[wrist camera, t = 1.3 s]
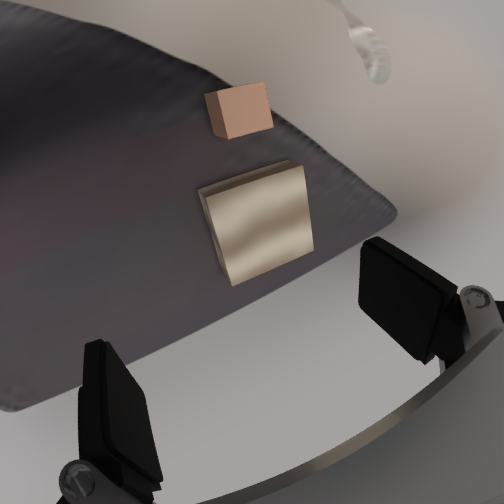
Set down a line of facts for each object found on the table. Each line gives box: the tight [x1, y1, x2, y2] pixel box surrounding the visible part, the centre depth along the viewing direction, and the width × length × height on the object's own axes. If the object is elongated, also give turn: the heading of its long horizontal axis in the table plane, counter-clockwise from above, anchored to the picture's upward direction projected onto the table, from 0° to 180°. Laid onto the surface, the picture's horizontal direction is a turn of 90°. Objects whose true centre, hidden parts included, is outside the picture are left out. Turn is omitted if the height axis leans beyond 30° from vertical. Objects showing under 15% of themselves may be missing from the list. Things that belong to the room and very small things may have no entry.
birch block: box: [198, 160, 314, 286], centre depth 37 cm, size 12×12×4 cm
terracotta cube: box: [204, 82, 273, 139], centre depth 29 cm, size 5×5×5 cm
